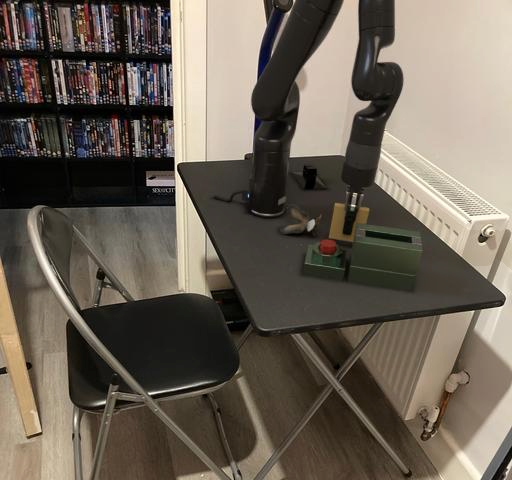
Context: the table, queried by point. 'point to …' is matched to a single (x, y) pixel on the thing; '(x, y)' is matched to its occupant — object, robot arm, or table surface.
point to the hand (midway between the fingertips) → (346, 231)
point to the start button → (327, 246)
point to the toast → (339, 222)
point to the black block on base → (309, 178)
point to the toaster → (384, 256)
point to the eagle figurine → (302, 218)
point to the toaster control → (325, 263)
